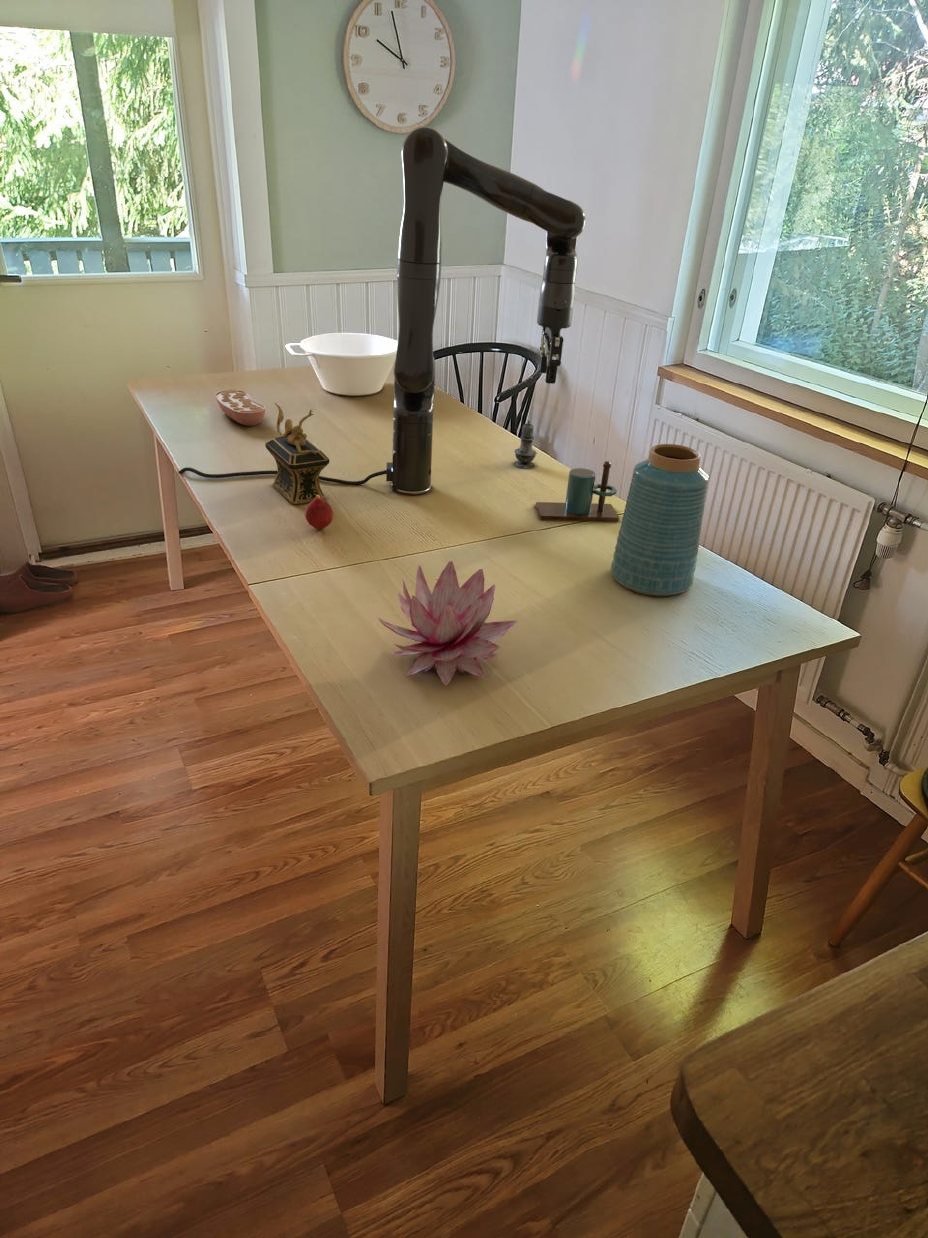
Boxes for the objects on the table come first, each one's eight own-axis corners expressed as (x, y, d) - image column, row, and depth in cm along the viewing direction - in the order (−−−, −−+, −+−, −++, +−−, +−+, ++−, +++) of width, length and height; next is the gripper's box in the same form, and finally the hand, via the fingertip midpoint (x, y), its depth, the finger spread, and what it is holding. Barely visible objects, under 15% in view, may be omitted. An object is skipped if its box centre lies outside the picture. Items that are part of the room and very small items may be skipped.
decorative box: (332, 501, 192) (330, 417, 182) (292, 508, 187) (288, 422, 177) (299, 472, 206) (296, 392, 196) (261, 478, 202) (256, 396, 192)
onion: (338, 527, 180) (337, 492, 176) (325, 537, 176) (324, 502, 172) (313, 522, 182) (312, 487, 178) (301, 532, 177) (299, 497, 173)
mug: (567, 514, 191) (572, 477, 186) (562, 504, 196) (567, 467, 192) (615, 515, 192) (621, 478, 187) (609, 505, 197) (615, 468, 193)
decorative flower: (405, 618, 149) (407, 541, 142) (522, 642, 145) (530, 564, 137) (358, 682, 132) (358, 599, 124) (489, 712, 127) (497, 628, 119)
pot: (301, 406, 252) (299, 358, 245) (280, 378, 277) (278, 333, 270) (427, 399, 266) (428, 353, 258) (396, 372, 291) (397, 330, 284)
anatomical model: (271, 427, 234) (270, 410, 231) (236, 432, 229) (234, 414, 226) (242, 405, 250) (241, 388, 247) (209, 408, 245) (208, 391, 243)
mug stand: (540, 519, 190) (546, 465, 184) (535, 505, 197) (541, 453, 190) (618, 521, 192) (627, 468, 185) (610, 507, 199) (618, 455, 192)
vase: (675, 608, 158) (704, 474, 145) (596, 582, 165) (617, 452, 152) (702, 576, 170) (732, 450, 157) (628, 553, 177) (650, 431, 164)
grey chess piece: (533, 470, 217) (538, 424, 211) (511, 467, 218) (515, 422, 212) (536, 462, 222) (541, 418, 216) (514, 459, 223) (519, 415, 217)
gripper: (534, 295, 188) (527, 368, 196) (543, 308, 175) (535, 385, 184) (567, 297, 188) (558, 370, 197) (579, 310, 176) (568, 387, 184)
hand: (547, 377), depth 190 cm, fingers open, 8 cm apart
